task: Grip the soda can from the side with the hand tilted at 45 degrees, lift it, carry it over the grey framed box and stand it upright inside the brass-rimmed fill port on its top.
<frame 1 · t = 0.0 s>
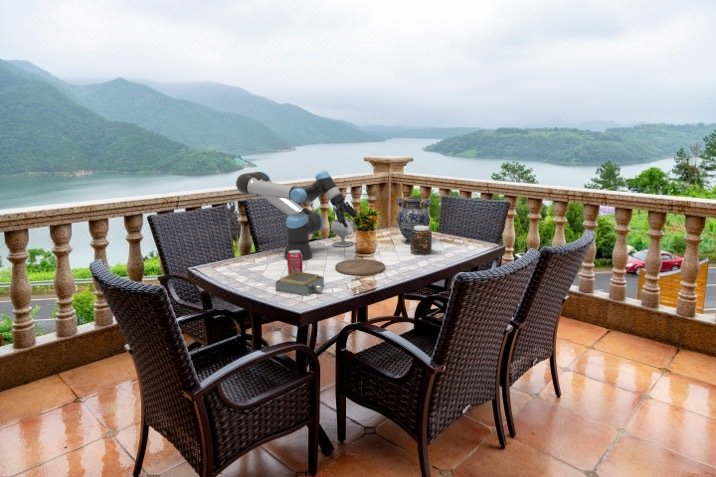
hand: (356, 229, 257), 15 cm above the table, tool tilted 35°, fingers open, 13 cm apart
trivet: (360, 269, 238), on the table
decorative vase: (413, 243, 293), on the table
grey framed box: (300, 288, 208), on the table
jar: (420, 253, 269), on the table
chalice: (342, 245, 288), on the table
soda can: (295, 276, 227), on the table
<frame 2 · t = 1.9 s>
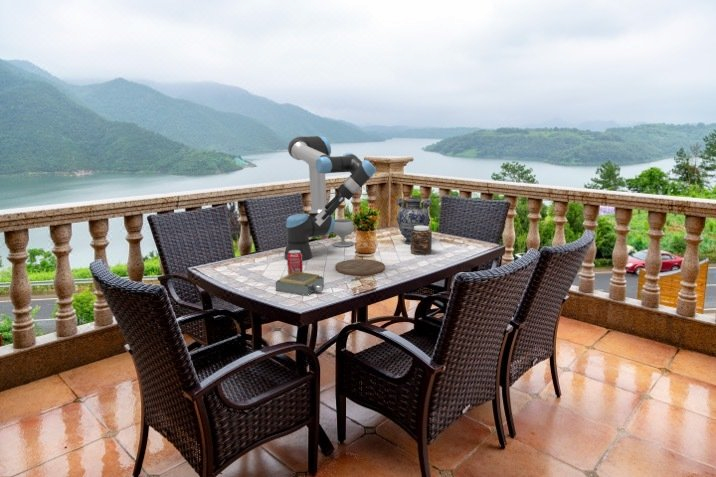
hand: (317, 221, 222), 26 cm above the table, tool tilted 45°, fingers open, 13 cm apart
nothing on the table moved.
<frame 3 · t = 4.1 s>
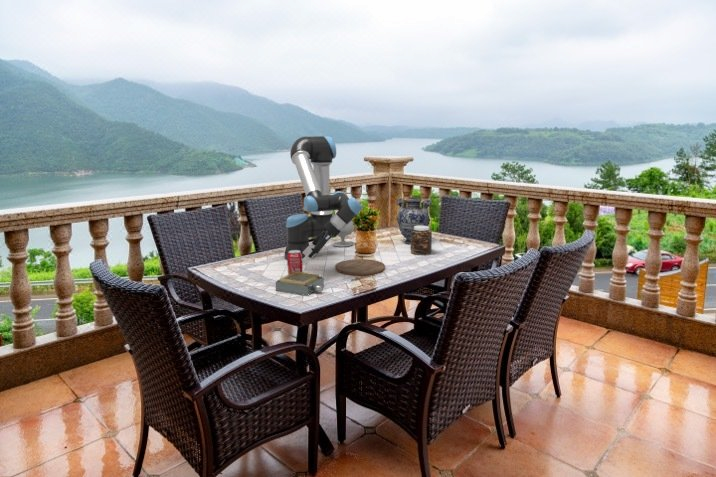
hand: (304, 258, 224), 9 cm above the table, tool tilted 45°, fingers open, 13 cm apart
nothing on the table moved.
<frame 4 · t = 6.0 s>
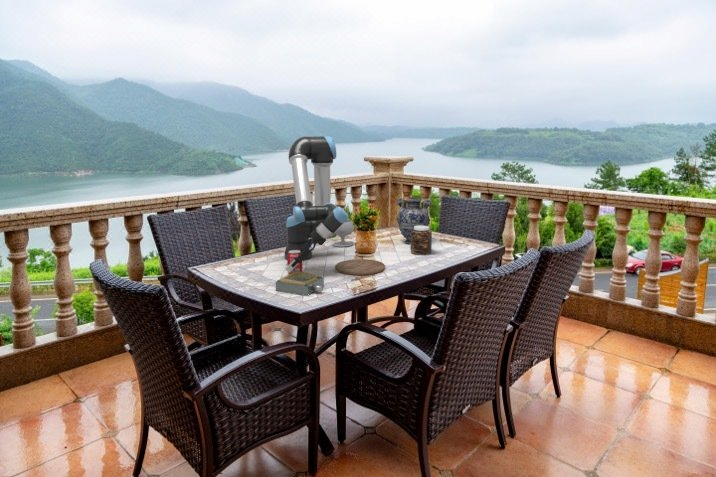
hand: (287, 268, 225), 4 cm above the table, tool tilted 45°, fingers closed on soda can, 7 cm apart
soda can: (295, 276, 227), on the table, touching gripper
everything else where it was.
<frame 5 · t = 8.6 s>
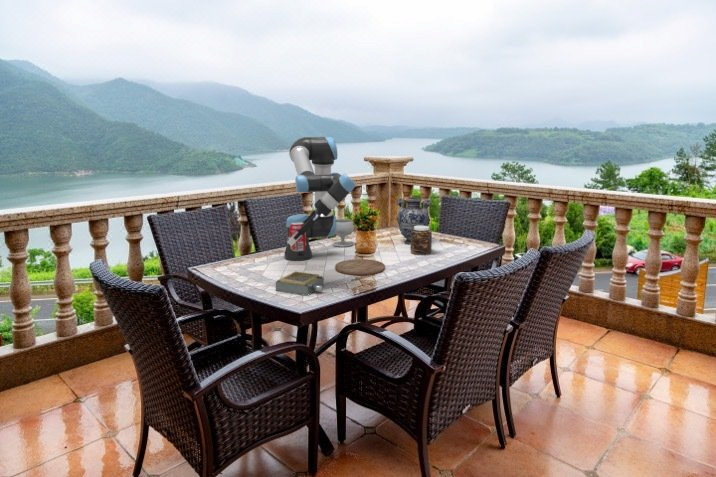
hand: (289, 242, 207), 20 cm above the table, tool tilted 45°, fingers closed on soda can, 7 cm apart
soda can: (298, 250, 209), point 16 cm above the table, touching gripper
everything else where it was.
when the fingers open (9 cm above the table, at t = 11.1 s): soda can drops 1 cm, resting on grey framed box.
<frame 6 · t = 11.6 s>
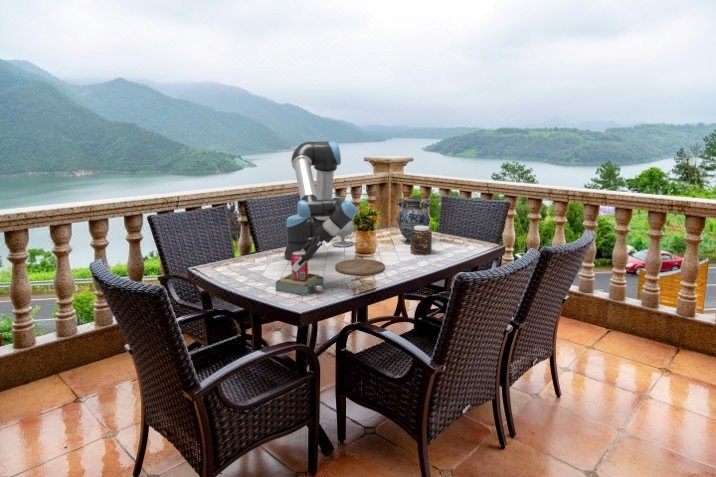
hand: (294, 265, 206), 10 cm above the table, tool tilted 45°, fingers open, 13 cm apart
soda can: (300, 279, 208), point 4 cm above the table, touching grey framed box
everything else where it was.
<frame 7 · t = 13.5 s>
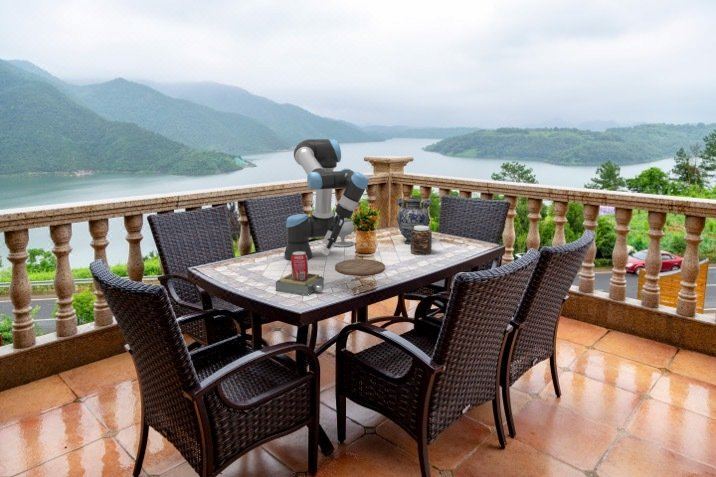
hand: (324, 248, 209), 17 cm above the table, tool tilted 30°, fingers open, 13 cm apart
nothing on the table moved.
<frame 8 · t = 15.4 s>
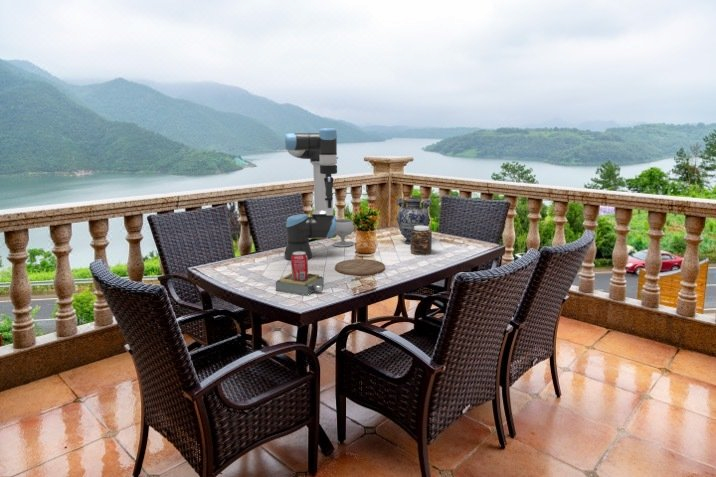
hand: (329, 212, 212), 32 cm above the table, tool pointing down, fingers open, 13 cm apart
nothing on the table moved.
at the end: soda can 0.1 cm from the grey framed box (horizontally); soda can tilted 0°; the gripper is holding nothing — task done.
